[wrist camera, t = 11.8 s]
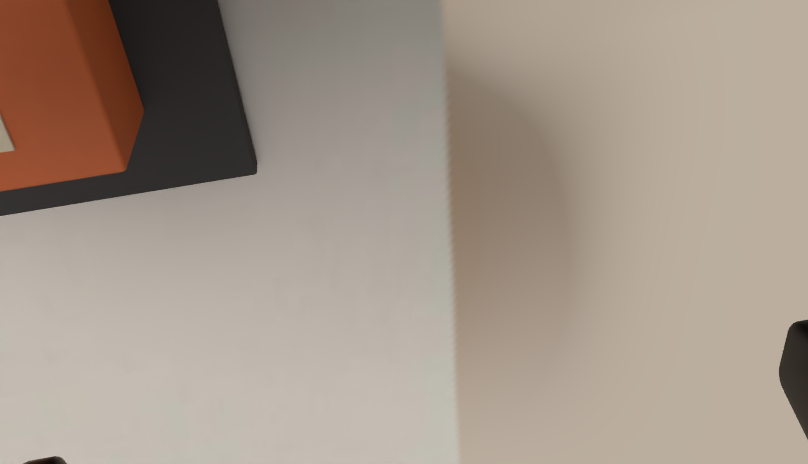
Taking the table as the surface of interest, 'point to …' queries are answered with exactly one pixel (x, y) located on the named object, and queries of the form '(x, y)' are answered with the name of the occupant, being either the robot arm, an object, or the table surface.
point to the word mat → (167, 108)
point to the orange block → (63, 93)
